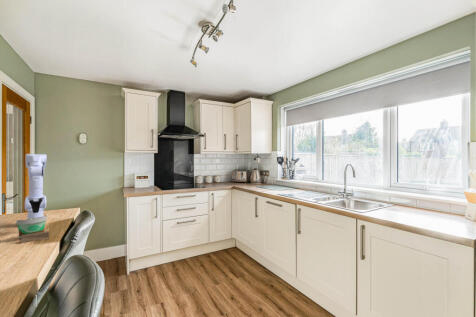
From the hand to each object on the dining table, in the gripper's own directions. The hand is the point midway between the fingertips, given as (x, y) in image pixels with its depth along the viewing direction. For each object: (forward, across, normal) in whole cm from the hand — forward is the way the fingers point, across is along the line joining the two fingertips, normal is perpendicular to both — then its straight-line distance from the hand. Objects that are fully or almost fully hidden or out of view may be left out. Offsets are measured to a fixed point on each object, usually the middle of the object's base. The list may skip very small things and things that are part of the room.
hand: (35, 212), depth 123 cm
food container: (+11, +12, 0) cm, 16 cm away
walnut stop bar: (+10, +17, 0) cm, 20 cm away
